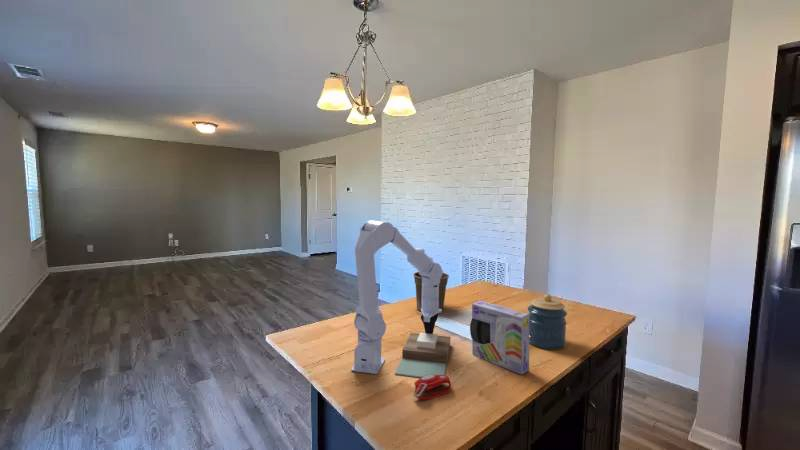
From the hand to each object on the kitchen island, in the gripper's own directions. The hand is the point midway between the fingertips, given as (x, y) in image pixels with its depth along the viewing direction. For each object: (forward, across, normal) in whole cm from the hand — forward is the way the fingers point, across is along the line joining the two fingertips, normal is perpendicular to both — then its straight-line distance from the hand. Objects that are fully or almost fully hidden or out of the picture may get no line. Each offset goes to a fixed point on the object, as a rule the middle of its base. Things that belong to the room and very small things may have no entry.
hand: (429, 335), depth 119 cm
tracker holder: (+4, -27, -3) cm, 27 cm away
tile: (+1, -4, 0) cm, 5 cm away
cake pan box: (+4, -6, -22) cm, 24 cm away
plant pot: (+4, +40, +5) cm, 40 cm away
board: (+4, -4, 0) cm, 6 cm away
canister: (+4, +14, -40) cm, 43 cm away
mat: (+4, -16, 0) cm, 17 cm away
